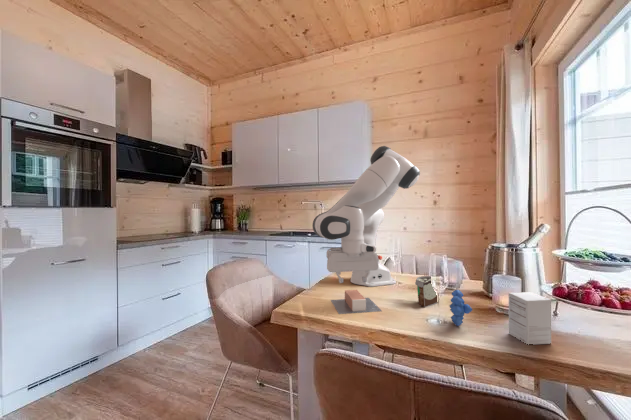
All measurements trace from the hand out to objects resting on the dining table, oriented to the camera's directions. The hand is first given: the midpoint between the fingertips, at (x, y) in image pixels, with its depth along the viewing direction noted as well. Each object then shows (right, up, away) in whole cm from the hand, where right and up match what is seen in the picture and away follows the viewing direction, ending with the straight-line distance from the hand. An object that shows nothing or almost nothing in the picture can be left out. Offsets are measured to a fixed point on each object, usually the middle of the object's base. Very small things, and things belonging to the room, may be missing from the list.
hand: (352, 282), depth 112 cm
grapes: (+32, -10, -19) cm, 39 cm away
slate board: (0, -9, -2) cm, 10 cm away
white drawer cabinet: (+48, -10, -28) cm, 56 cm away
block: (0, -6, +4) cm, 7 cm away
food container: (+29, -9, +2) cm, 31 cm away
